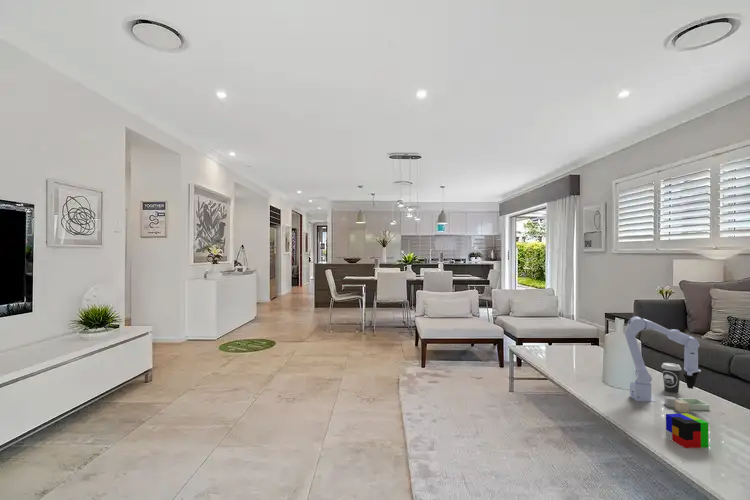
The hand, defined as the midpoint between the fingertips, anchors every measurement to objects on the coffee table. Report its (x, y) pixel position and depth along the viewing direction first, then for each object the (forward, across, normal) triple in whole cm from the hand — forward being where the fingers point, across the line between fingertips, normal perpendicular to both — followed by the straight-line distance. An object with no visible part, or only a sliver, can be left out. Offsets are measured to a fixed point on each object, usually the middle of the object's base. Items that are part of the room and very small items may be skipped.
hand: (691, 386), depth 214 cm
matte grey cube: (+9, -9, +8) cm, 15 cm away
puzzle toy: (+10, -54, -3) cm, 55 cm away
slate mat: (+10, -13, +4) cm, 16 cm away
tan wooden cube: (+9, -14, +2) cm, 17 cm away
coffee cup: (+10, +21, +11) cm, 26 cm away
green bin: (+10, -3, -1) cm, 10 cm away
